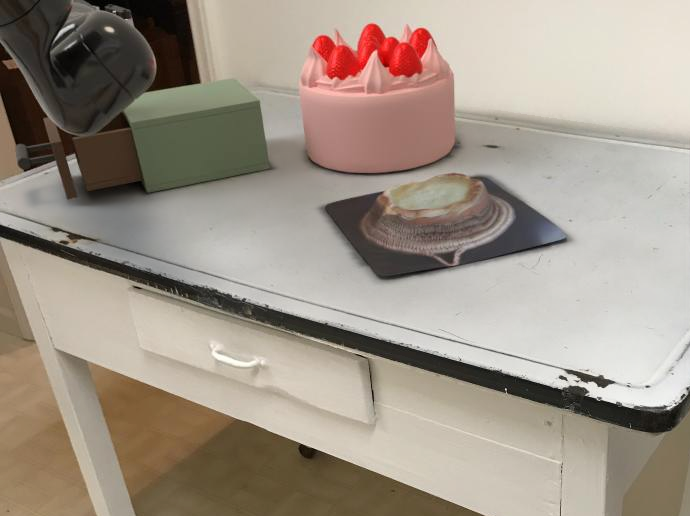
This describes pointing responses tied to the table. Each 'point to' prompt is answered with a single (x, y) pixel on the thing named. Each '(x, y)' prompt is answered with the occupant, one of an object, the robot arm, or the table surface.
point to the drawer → (91, 156)
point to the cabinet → (197, 134)
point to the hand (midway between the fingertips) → (61, 17)
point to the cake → (377, 102)
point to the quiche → (439, 224)
